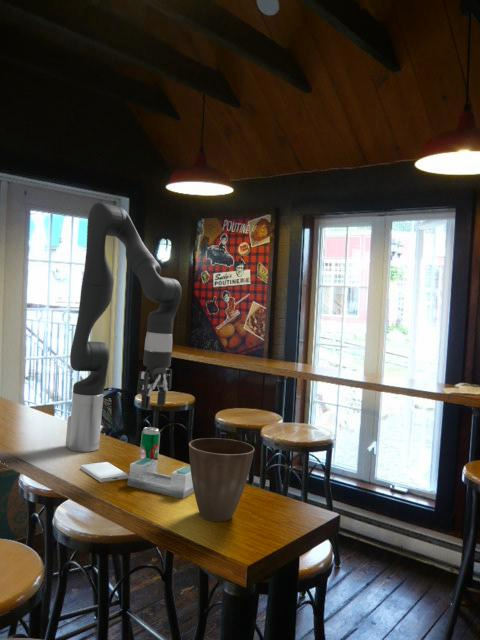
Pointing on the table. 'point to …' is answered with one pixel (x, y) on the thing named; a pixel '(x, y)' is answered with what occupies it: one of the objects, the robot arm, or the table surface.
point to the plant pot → (219, 475)
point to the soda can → (150, 443)
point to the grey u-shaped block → (160, 479)
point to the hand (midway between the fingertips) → (153, 407)
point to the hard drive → (104, 471)
